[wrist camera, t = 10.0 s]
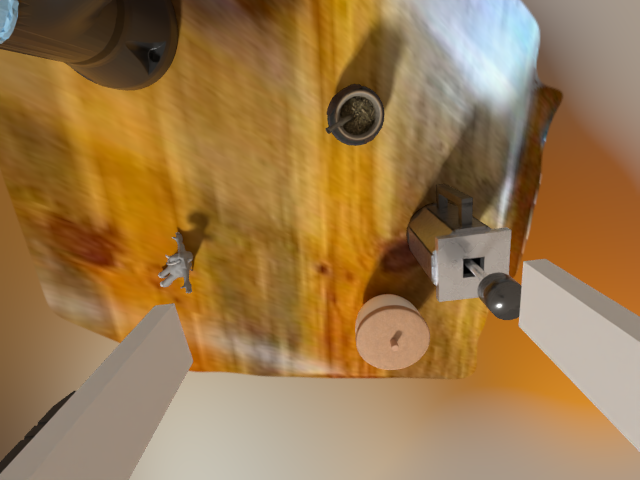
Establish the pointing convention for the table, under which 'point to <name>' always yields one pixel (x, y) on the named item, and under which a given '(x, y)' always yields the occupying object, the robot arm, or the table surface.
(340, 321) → the table surface
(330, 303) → the table surface
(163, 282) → the grey animal figurine
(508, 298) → the plunger
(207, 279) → the table surface
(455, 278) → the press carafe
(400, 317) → the lidded jar
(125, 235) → the table surface
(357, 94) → the mate gourd
